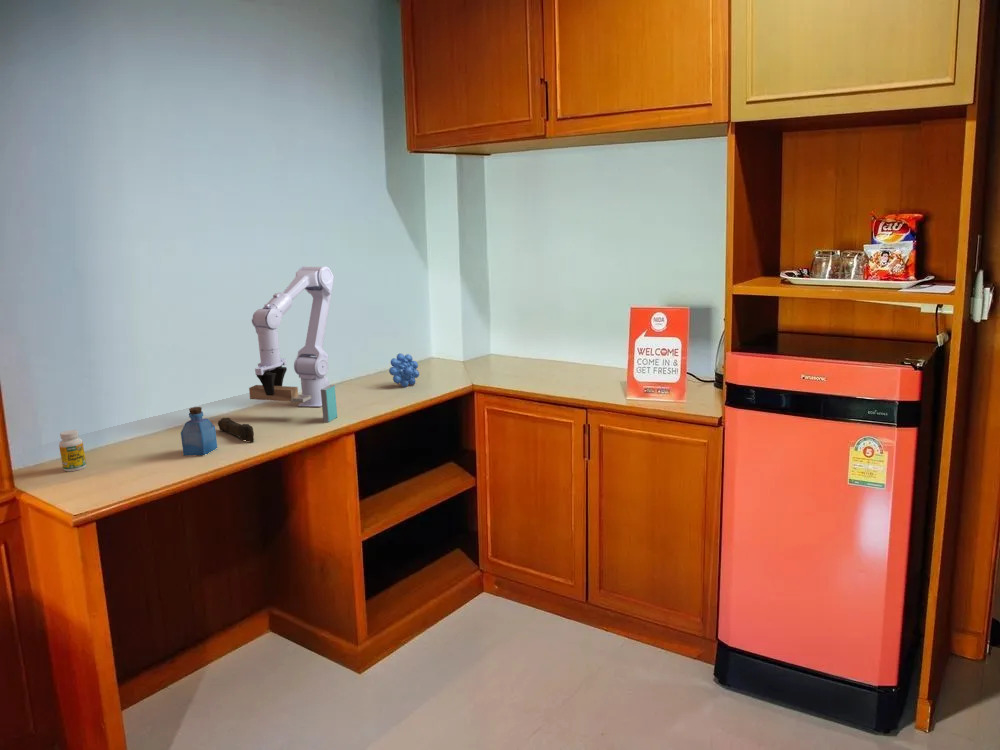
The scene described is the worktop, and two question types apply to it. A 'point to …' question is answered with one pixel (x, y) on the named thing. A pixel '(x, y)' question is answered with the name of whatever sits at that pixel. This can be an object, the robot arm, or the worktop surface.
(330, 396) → the tile
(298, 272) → the robot arm
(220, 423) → the hand tool
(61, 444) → the supplement bottle
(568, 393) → the worktop surface
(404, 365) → the grapes
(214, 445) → the perfume bottle
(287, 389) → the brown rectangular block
